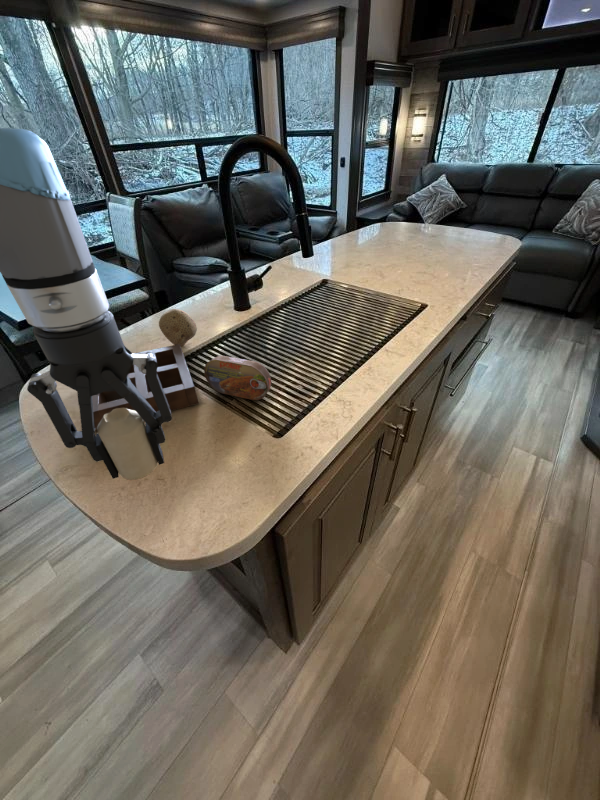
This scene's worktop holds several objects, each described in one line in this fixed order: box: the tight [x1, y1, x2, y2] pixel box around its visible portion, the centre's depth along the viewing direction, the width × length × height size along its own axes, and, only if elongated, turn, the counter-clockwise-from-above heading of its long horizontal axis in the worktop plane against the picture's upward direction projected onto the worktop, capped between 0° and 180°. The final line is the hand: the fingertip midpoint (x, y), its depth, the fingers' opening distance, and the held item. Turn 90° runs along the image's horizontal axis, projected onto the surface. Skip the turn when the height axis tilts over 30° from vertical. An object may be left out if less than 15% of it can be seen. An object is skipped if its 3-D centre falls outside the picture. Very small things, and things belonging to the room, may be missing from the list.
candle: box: [96, 408, 159, 481], centre depth 46 cm, size 6×6×10 cm
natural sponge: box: [158, 308, 198, 347], centre depth 87 cm, size 9×9×10 cm
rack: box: [92, 344, 200, 432], centre depth 73 cm, size 20×20×4 cm
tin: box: [203, 355, 272, 401], centre depth 70 cm, size 15×3×8 cm, turn 70°
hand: (138, 464), depth 49 cm, fingers closed on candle, 5 cm apart
